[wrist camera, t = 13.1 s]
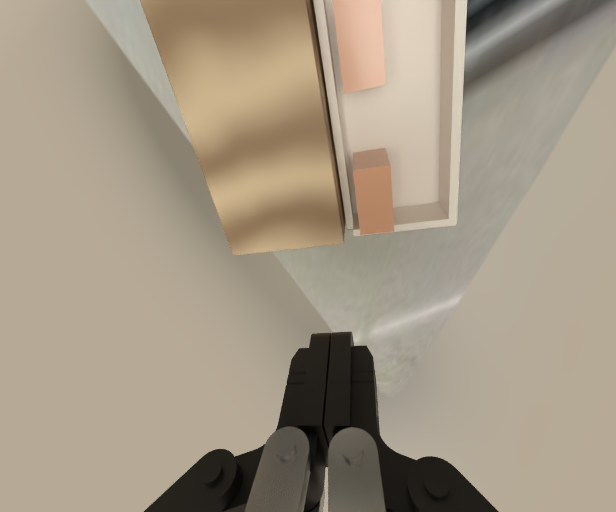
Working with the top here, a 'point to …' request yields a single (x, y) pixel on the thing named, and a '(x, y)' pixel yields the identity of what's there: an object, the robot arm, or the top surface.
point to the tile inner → (360, 43)
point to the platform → (255, 116)
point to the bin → (404, 109)
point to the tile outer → (373, 191)
